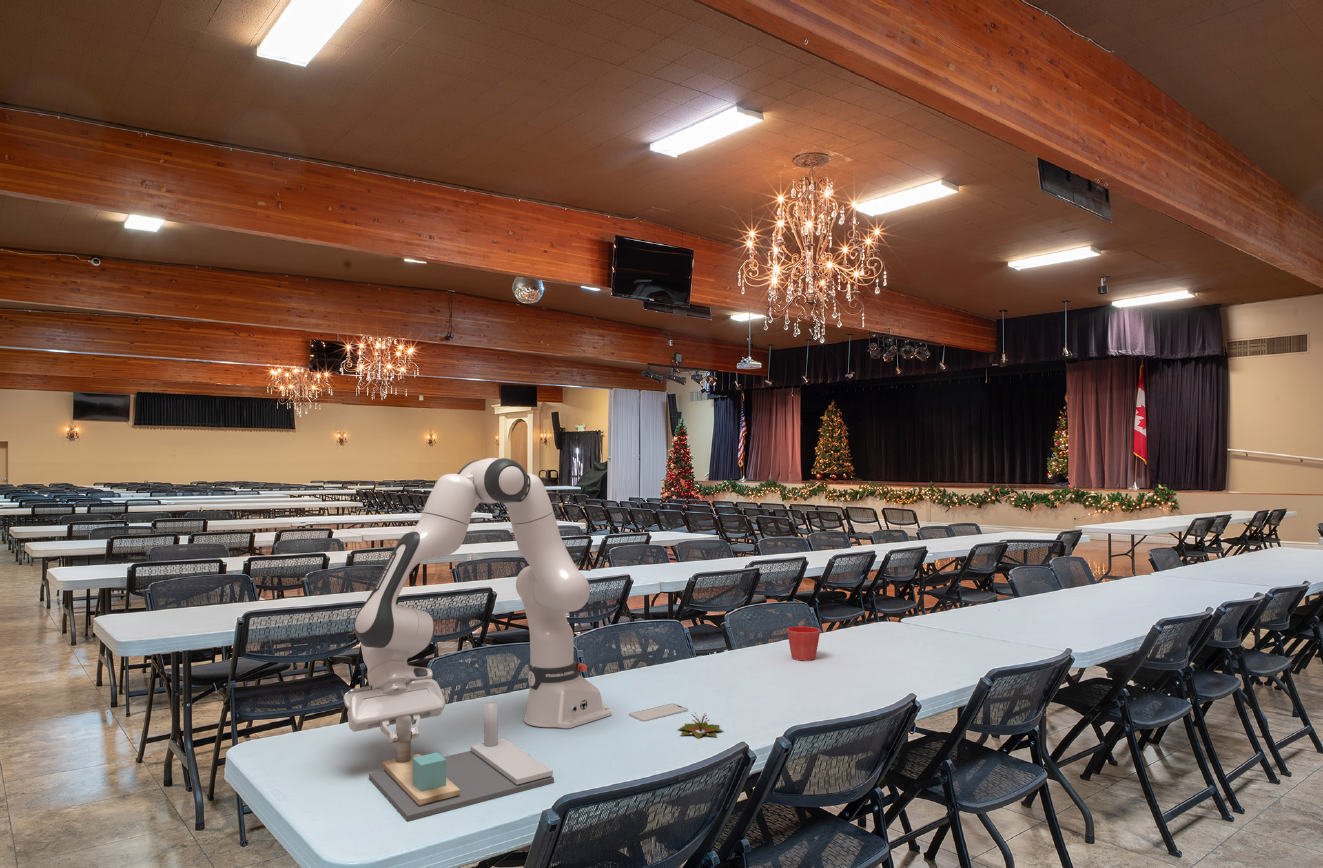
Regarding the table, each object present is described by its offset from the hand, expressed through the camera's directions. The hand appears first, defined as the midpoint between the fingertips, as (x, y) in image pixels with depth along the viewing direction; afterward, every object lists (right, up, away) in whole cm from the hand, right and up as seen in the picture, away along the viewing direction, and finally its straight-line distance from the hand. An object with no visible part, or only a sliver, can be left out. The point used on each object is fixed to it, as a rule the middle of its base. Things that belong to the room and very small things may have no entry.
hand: (404, 739), depth 169 cm
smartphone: (+54, -9, +39) cm, 67 cm away
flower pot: (+102, -10, +97) cm, 142 cm away
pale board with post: (+22, -5, +2) cm, 23 cm away
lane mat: (+13, -7, -5) cm, 16 cm away
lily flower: (+64, -8, +25) cm, 69 cm away
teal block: (+9, -4, -13) cm, 16 cm away
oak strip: (+6, -5, -8) cm, 11 cm away
